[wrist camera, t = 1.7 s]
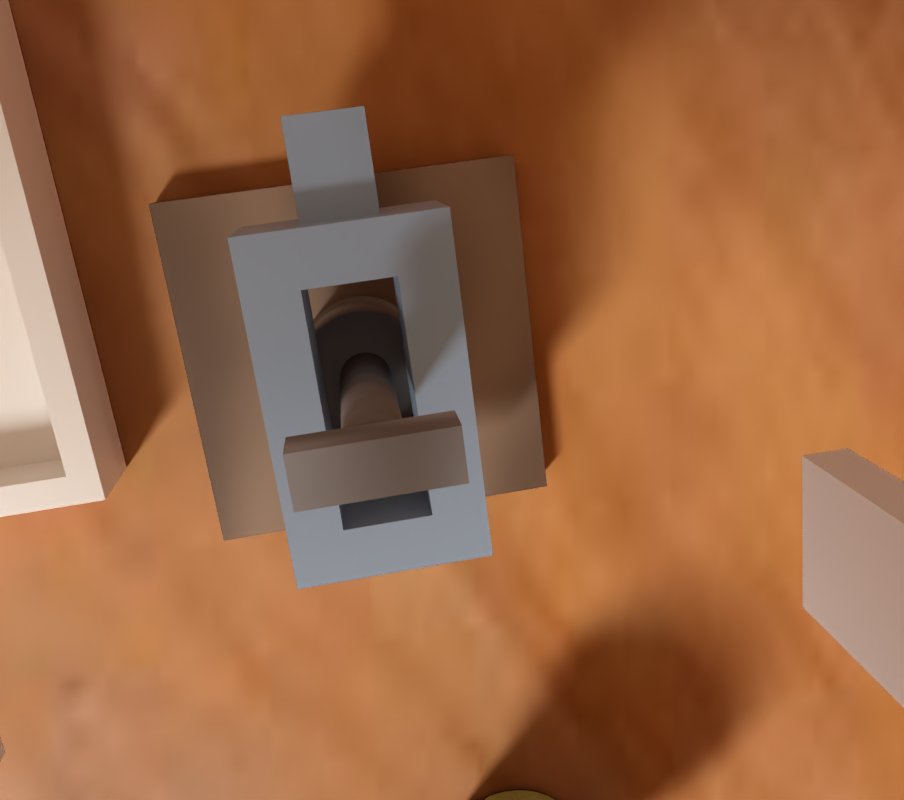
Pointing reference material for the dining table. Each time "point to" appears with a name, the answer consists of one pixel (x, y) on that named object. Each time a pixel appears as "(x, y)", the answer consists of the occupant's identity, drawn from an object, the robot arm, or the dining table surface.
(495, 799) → the plant pot
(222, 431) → the lever on base
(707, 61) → the dining table surface
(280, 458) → the grey slotted block
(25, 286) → the tray
